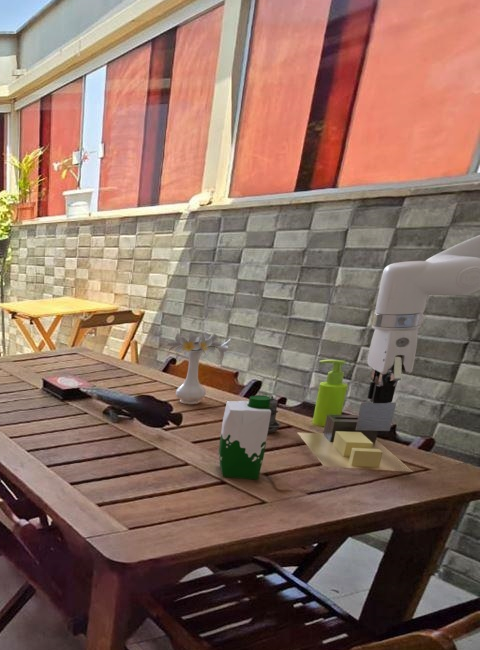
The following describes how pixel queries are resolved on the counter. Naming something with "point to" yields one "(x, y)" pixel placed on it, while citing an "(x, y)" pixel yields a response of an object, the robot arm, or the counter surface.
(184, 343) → the flower vase
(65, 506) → the counter surface
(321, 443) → the cutting board
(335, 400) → the soap dispenser
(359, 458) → the butter slice
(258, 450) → the milk carton
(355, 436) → the butter
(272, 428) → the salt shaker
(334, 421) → the block
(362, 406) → the knife
